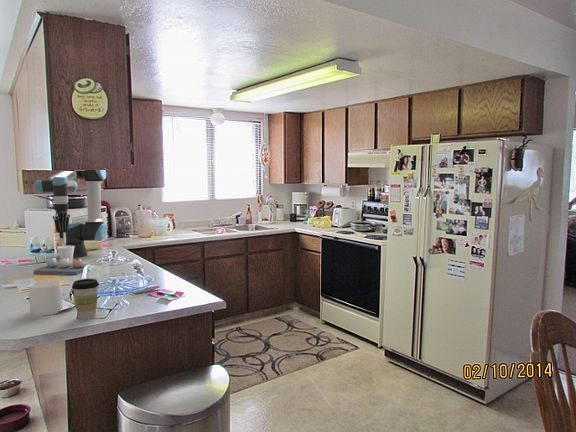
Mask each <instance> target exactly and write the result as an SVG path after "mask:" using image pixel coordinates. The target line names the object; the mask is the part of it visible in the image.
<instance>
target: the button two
mask: <svg viewBox="0 0 576 432" xmlns="http://www.w3.org/2000/svg"><path fill="white" fill-rule="evenodd" d="M59 264H60V267H69V258H62V259H60V258H59Z"/></svg>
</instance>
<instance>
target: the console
mask: <svg viewBox="0 0 576 432" xmlns="http://www.w3.org/2000/svg"><path fill="white" fill-rule="evenodd" d="M56 265H57V266H55V267H47V265H45V266H43V267H40V268H38V269H34V270H33V274H34V275H59V276H60V275H61V276H64V275H65V276H78V275H80V274H83V273H84V272H83V269H84V267H85V266H86V265H87V264H86V263H85V264H84V263H82V267H78V268H73V263H72V264H69V267H60V263H56ZM82 272H83V273H82Z"/></svg>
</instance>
